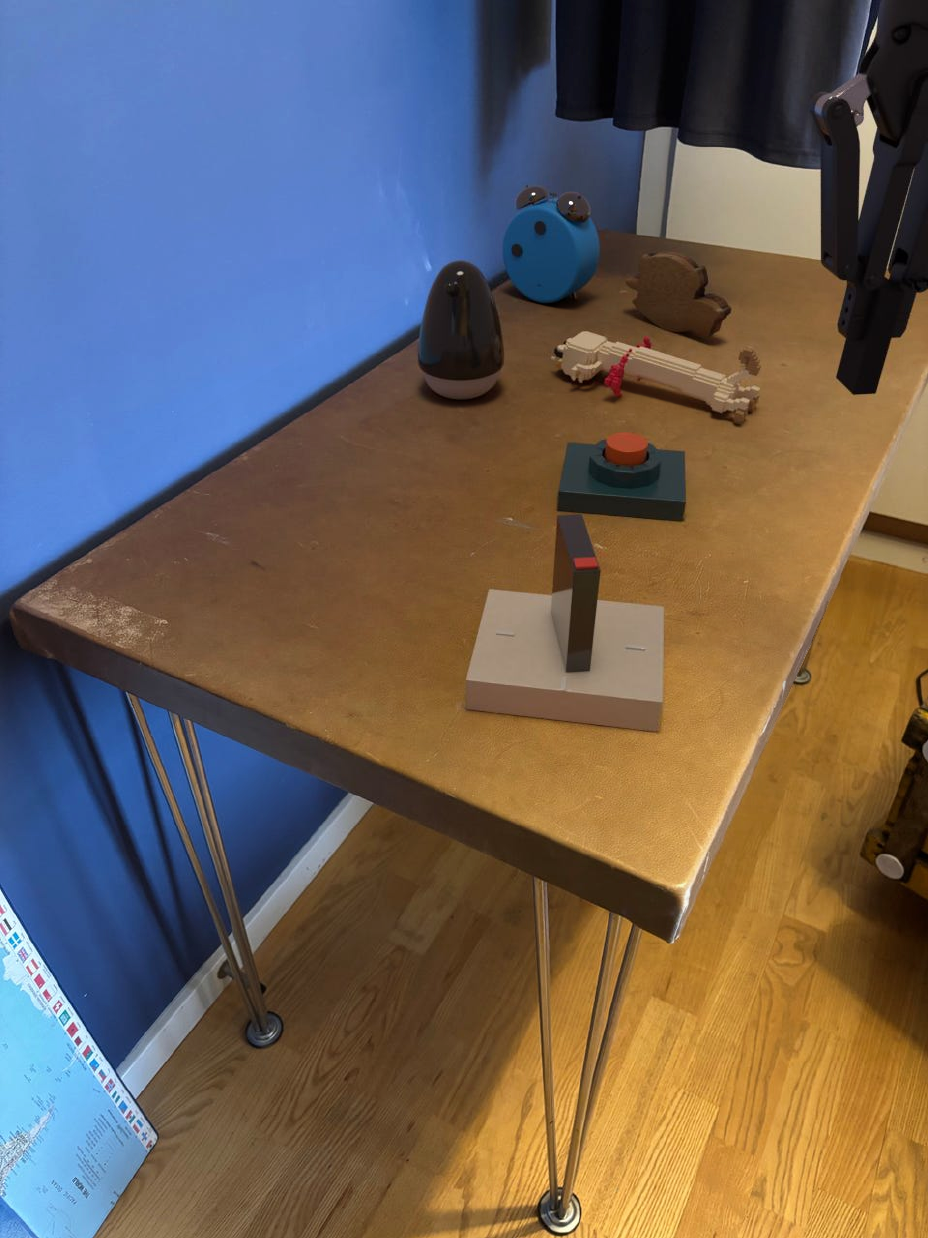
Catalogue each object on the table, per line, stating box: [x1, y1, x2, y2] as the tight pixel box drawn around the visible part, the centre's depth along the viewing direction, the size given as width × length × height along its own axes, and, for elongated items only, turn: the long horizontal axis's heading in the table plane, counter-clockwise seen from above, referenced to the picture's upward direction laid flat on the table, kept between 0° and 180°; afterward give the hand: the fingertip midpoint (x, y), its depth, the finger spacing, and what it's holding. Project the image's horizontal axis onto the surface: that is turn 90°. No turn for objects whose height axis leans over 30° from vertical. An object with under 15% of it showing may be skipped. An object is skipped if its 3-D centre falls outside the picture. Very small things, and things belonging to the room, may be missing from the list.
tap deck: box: [465, 588, 665, 733], centre depth 70 cm, size 14×11×3 cm
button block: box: [556, 438, 687, 522], centre depth 90 cm, size 12×10×4 cm
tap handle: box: [551, 513, 602, 672], centre depth 66 cm, size 7×2×9 cm, turn 5°
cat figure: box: [550, 330, 762, 426], centre depth 106 cm, size 10×9×25 cm
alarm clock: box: [502, 184, 601, 304], centre depth 129 cm, size 13×6×15 cm, turn 53°
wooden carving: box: [624, 251, 732, 339], centre depth 121 cm, size 16×5×10 cm, turn 44°
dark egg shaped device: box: [417, 259, 505, 401], centre depth 105 cm, size 10×10×15 cm
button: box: [605, 431, 649, 466], centre depth 89 cm, size 4×4×2 cm
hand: (855, 385), depth 59 cm, fingers closed
